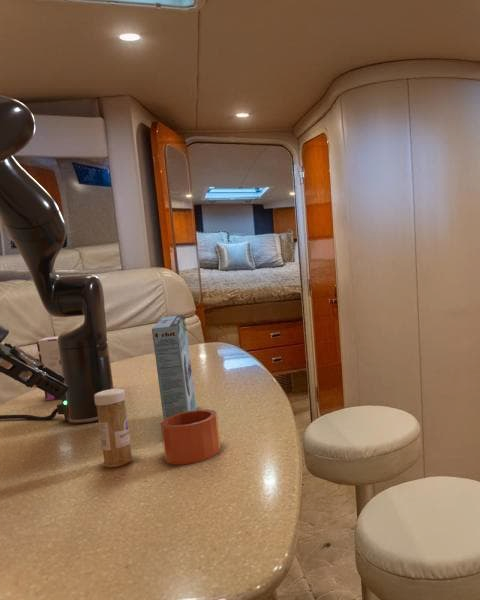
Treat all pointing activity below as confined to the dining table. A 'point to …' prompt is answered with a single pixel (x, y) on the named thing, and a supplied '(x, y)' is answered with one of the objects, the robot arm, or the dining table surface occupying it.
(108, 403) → the sprinkles bottle
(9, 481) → the dining table surface
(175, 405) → the gum box
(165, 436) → the cup
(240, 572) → the dining table surface
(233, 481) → the dining table surface
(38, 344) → the candy box
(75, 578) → the dining table surface
